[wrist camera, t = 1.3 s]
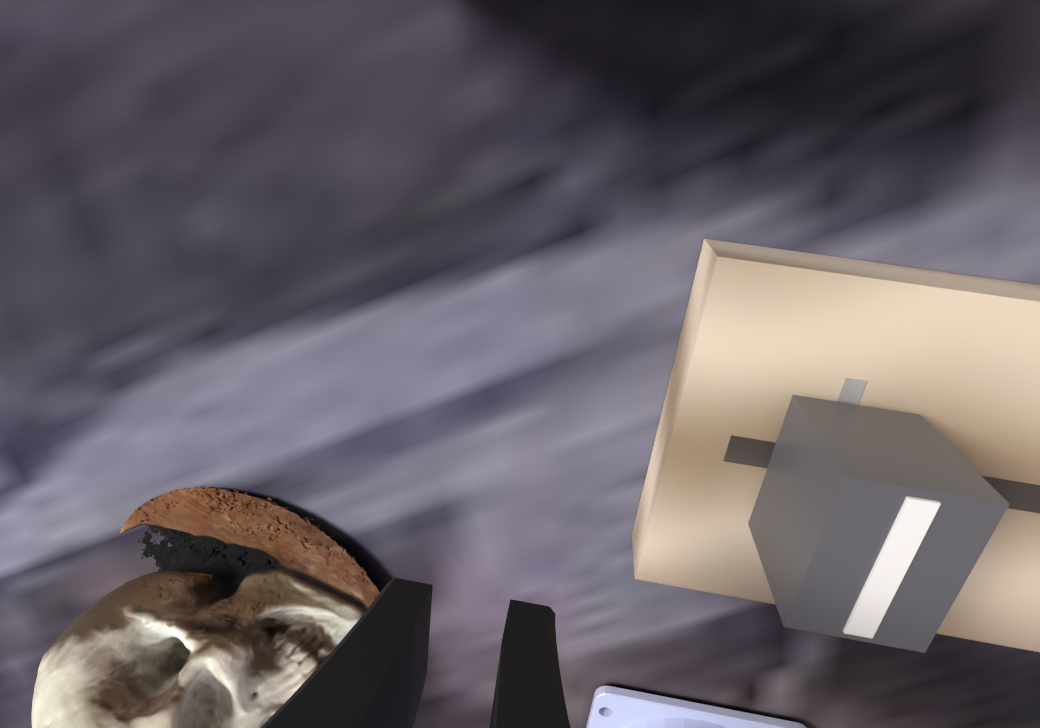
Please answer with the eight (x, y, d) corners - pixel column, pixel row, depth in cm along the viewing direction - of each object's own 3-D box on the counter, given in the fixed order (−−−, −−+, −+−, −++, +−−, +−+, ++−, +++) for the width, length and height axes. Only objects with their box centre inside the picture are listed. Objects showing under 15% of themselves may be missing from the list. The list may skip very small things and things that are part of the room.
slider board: (1276, 648, 18) (1351, 709, 16) (631, 535, 20) (634, 579, 18) (1545, 355, 14) (1686, 393, 12) (704, 238, 16) (717, 256, 14)
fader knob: (860, 543, 16) (926, 655, 13) (748, 523, 16) (784, 629, 13) (919, 414, 14) (1012, 506, 11) (792, 395, 14) (847, 479, 11)
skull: (400, 509, 19) (311, 906, 15) (435, 544, 29) (386, 795, 25) (50, 455, 20) (-125, 825, 16) (198, 507, 29) (112, 747, 25)
